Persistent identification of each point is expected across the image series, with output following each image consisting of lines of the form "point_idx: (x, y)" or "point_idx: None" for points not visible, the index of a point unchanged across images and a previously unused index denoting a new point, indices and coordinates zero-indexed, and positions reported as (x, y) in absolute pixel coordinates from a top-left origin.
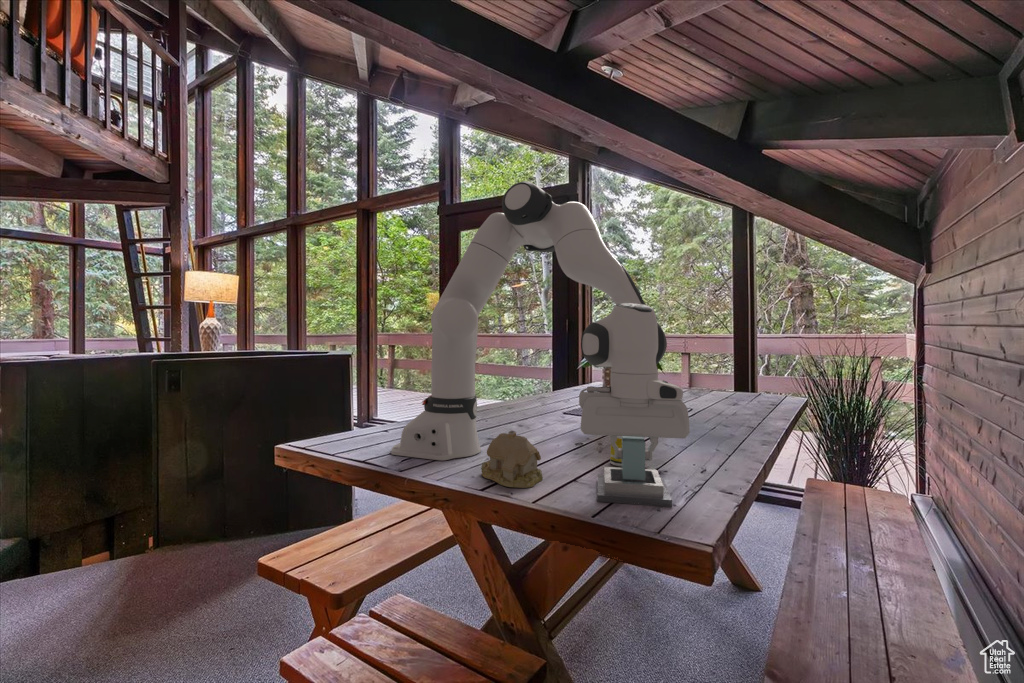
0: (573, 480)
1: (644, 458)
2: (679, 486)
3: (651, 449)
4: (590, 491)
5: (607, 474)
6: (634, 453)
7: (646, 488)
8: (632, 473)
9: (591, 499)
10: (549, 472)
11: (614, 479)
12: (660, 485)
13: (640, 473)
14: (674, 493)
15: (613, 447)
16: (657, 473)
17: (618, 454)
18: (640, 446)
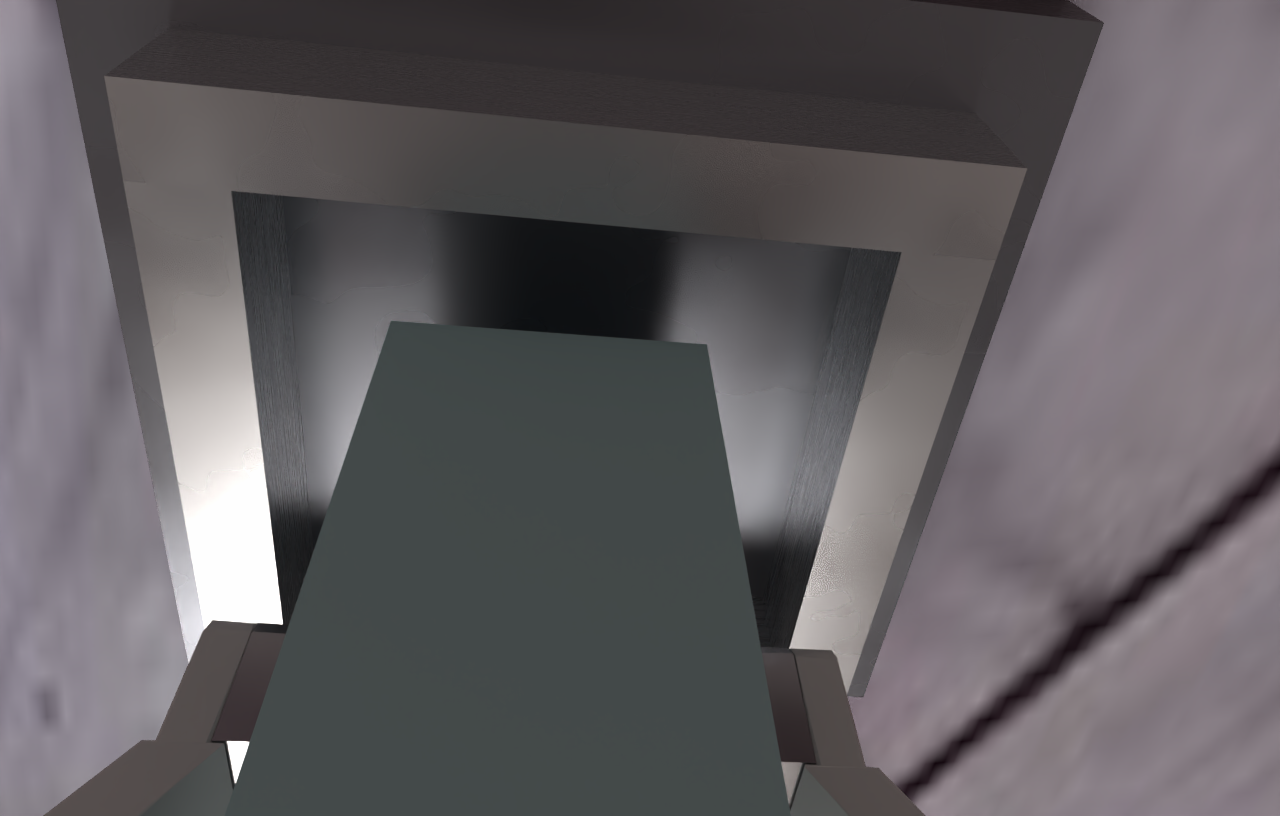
0: (1096, 621)
1: (333, 534)
2: (33, 574)
3: (152, 774)
4: (1028, 350)
5: (875, 499)
6: (527, 612)
7: (393, 89)
8: (572, 381)
9: (1111, 85)
10: (1245, 771)
11: None
12: (156, 98)
13: (447, 374)
14: (74, 379)
15: (909, 808)
16: (211, 594)
17: (790, 697)
18: (372, 739)
